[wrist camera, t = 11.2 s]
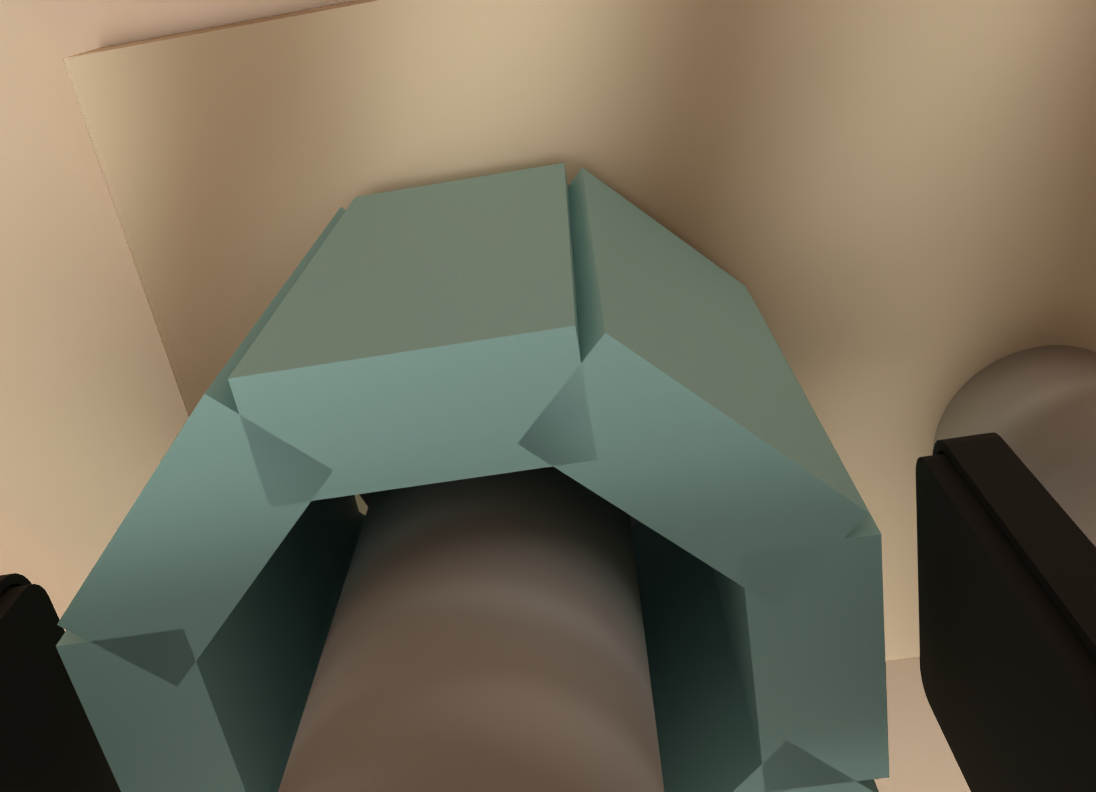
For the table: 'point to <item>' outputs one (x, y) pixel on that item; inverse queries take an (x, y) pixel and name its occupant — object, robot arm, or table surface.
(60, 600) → the table surface
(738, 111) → the board
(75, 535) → the table surface
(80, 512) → the table surface
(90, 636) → the ring
